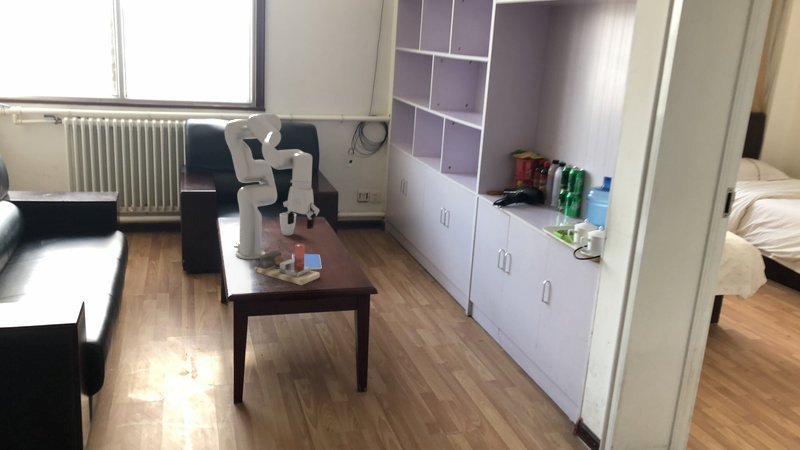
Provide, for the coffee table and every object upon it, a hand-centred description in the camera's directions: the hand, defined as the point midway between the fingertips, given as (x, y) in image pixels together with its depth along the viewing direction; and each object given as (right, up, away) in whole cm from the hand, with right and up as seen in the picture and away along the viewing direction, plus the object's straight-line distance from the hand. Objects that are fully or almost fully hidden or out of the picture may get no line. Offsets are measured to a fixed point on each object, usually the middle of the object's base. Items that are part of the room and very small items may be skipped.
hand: (300, 226), depth 272 cm
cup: (-16, -4, +65) cm, 67 cm away
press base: (-6, -20, +8) cm, 23 cm away
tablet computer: (-1, -16, +26) cm, 31 cm away
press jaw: (-3, -19, +6) cm, 20 cm away
